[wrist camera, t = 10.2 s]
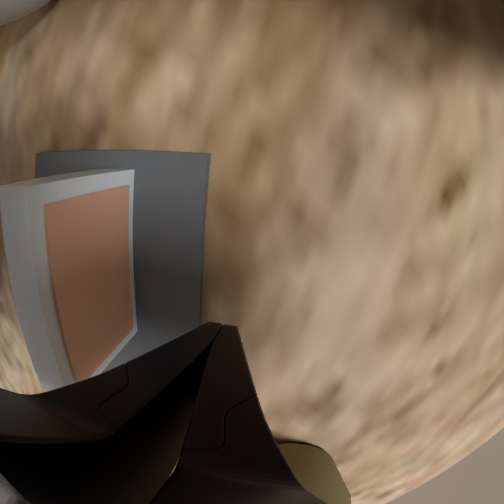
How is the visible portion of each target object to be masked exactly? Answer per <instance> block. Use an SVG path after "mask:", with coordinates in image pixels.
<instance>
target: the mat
mask: <svg viewBox="0 0 504 504" xmlns="http://www.w3.org/2000/svg"><path fill="white" fill-rule="evenodd" d="M210 156H211V154H203V153H188V152H169V151H139V150H90V151H61V152H43V153H36V175H35V179H36V178H42V177H47V176H53V175H60V174H66V173H73V172H80V171H87V170H95V169H103V168H113V169H134V190H133V270H134V291H135V307H136V319H137V330H138V331H137V332H136V334H135V335H134V336H133V337H132V338H131V339H130V340H129V342H128V343H127V344H126V345H125V346H124V347H123V348H122V350H121V351H120V352H119V353H118V354H117V355H116V356H115V358H114V359H113V360H112V361H111V362H110V363H109V365H108V366H107V367H106V368H105V369H104V370H103V371H102V373H104V372H106V371H108V370H111V369H113V368H115V367H117V366H119V365H122V364H124V363H125V364H126V362H128V361H130V360H132V359H134V358H137V357H139V356H141V355H143V354H145V353H147V352H149V351H151V350H153V349H155V348H157V347H159V346H161V345H163V344H165V343H168V342H170V341H172V340H174V339H176V338H178V337H180V336H182V335H184V334H186V333H188V332H190V331H192V330H194V329H196V328H198V327H199V325H200V297H201V276H202V257H203V241H204V226H205V213H206V200H207V188H208V177H209V166H210Z"/></svg>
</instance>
